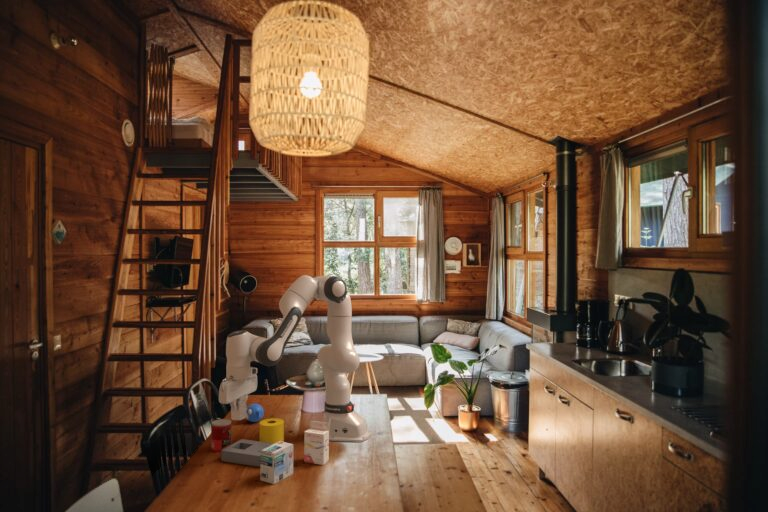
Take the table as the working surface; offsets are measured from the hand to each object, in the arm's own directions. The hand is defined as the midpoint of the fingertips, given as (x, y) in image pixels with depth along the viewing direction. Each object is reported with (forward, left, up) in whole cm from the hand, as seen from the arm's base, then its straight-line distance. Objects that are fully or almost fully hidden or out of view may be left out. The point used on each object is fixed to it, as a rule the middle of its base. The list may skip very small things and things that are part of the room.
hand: (238, 408), depth 187 cm
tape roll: (-2, -20, -20) cm, 28 cm away
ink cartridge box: (-28, -10, -20) cm, 36 cm away
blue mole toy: (+23, -42, -20) cm, 51 cm away
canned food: (+15, -9, -20) cm, 26 cm away
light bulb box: (-21, +7, -20) cm, 30 cm away
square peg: (0, 0, -4) cm, 4 cm away
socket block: (-3, -5, -20) cm, 21 cm away
